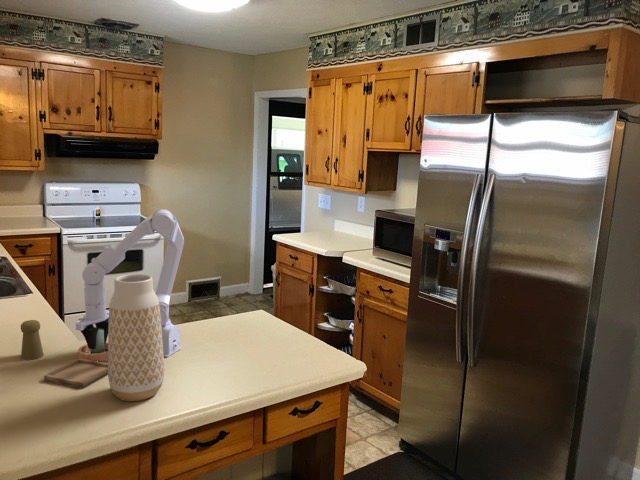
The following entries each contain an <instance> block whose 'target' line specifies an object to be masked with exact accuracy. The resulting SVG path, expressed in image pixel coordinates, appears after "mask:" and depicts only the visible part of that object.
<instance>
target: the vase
mask: <svg viewBox="0 0 640 480" xmlns="http://www.w3.org/2000/svg"><path fill="white" fill-rule="evenodd" d="M113 280H114V282H113V283H114V292H113V293H112V296H111V298H110V301H109V304H108V305H109V306H108V310H109V326H108V337H107V342H108V350H107V351H108V360H107V363H108V375H107V377H108V378H107V379H108V383H109V388H110V390H111V391H112V393H113V394H114V395H115V396H116V397H117V398H118V399H120V400H121V401H127V402H139V401H144V400H147V399H150V398H152V397H154V396H155V395H156V394H157V393H158V392H159V391H160V390H161V388H162V385H163V383H164V378H165V359H164V354H163V342H162V329H161V317H160V306H159V300H158V297H157V295H156V294H155V293H156V291H155V290H154V281H153V276H152V275H149V274H145V273H130V274H123V275H118V276H117V277H115V278H114V279H113Z"/></svg>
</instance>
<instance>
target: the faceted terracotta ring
mask: <svg viewBox="0 0 640 480" xmlns="http://www.w3.org/2000/svg"><path fill="white" fill-rule="evenodd" d="M104 347H105V350H106V351H105V352H103V353H99V354H91V353H88V352H90V349H89V348H88V345H87V343H86V344H84V345H82V346H80V347H79V348H78V349H77V359H79V358H80V359H86V360H91V361H99V362H103V361H108V341H106V344H104Z"/></svg>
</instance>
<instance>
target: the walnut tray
mask: <svg viewBox="0 0 640 480" xmlns="http://www.w3.org/2000/svg"><path fill="white" fill-rule="evenodd" d="M105 377H108V362H103V361H99V362H97V361H91V360H86V359H80V358H77V359H75V360H73V361H71V362H69V363H67V364H64V365H63V366H60V367H58V368H56V369H55V370H53V371H50V372H48V373H46V374H44V375H43V378H44V379H43V380H44V381H43V382H49V383H54V384H58V385H63V386H69V387H73V388H79V389H85V388H87V387H89V386H91V385H92V384H94V383H96V382H98V381H100V380H101V379H103V378H105Z"/></svg>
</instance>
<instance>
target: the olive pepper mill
mask: <svg viewBox="0 0 640 480" xmlns="http://www.w3.org/2000/svg"><path fill="white" fill-rule="evenodd" d="M40 329H41V323H40V321H38V320H37V319H29V320H25V321H23V322H22V323H21V324H20V330H21V332H22V340H21V341H22V344H21V351H20V353H21V355H20V358H21V360H23V361H34V360H39V359H41V358H43V357H44V355H45V353H44V350H43V346H42V341H41V337H40V336H41V335H40V332H39V331H40Z"/></svg>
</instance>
